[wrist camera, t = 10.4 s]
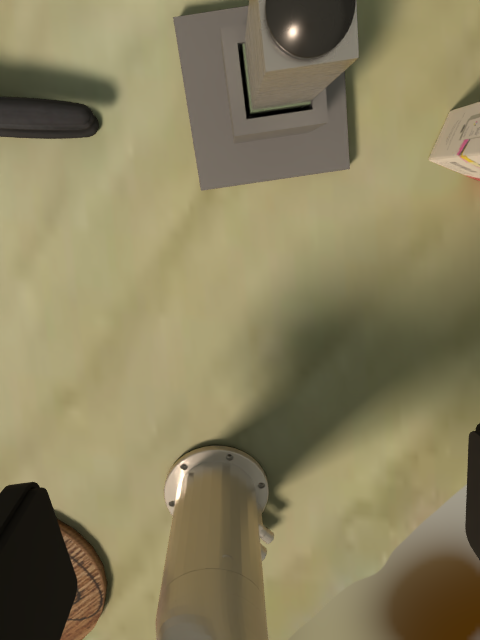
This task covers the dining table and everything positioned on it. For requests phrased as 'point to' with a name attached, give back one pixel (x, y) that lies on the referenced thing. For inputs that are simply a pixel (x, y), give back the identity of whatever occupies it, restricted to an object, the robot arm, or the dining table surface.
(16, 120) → the can opener
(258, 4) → the column
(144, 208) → the dining table surface
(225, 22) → the stand
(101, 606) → the trivet
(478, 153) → the ink cartridge box
